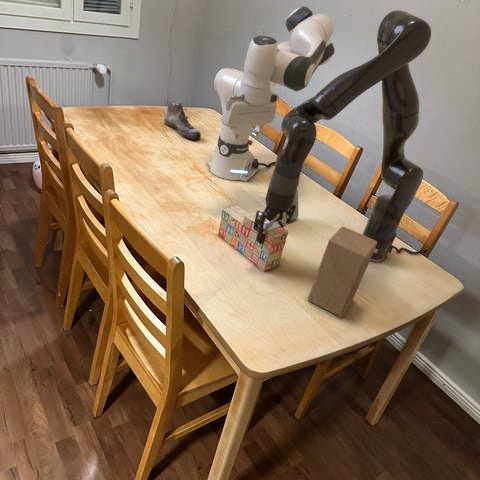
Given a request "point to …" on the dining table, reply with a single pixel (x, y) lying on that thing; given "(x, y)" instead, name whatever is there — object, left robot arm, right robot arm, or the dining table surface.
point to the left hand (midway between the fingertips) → (244, 137)
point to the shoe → (180, 121)
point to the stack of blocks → (252, 237)
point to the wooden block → (341, 270)
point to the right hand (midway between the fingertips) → (268, 239)
